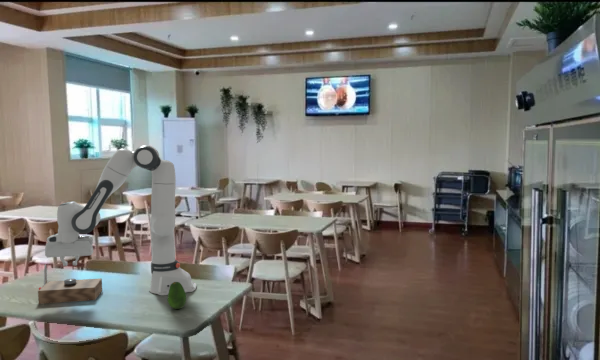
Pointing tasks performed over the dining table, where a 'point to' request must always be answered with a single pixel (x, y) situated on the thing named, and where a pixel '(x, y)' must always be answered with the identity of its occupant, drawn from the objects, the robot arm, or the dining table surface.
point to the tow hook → (44, 276)
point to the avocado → (176, 296)
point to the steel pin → (69, 282)
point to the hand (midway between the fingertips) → (70, 265)
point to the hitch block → (70, 291)
